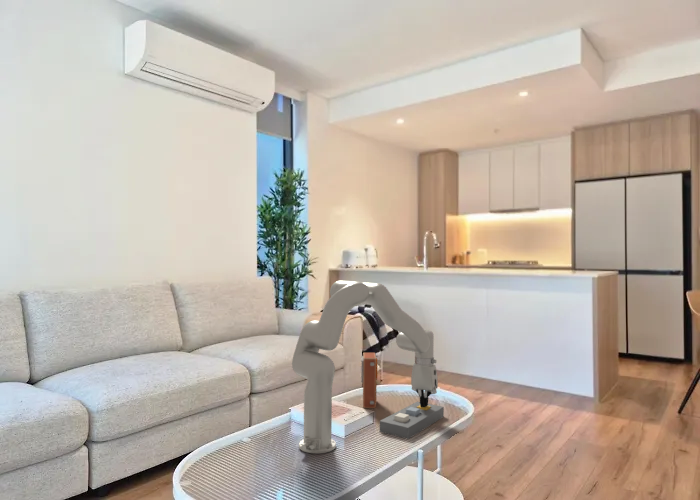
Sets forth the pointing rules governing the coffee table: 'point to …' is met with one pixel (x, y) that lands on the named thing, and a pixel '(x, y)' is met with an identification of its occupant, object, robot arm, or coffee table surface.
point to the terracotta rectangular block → (369, 379)
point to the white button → (401, 417)
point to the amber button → (423, 407)
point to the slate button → (413, 411)
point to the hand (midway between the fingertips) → (424, 406)
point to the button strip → (411, 421)
